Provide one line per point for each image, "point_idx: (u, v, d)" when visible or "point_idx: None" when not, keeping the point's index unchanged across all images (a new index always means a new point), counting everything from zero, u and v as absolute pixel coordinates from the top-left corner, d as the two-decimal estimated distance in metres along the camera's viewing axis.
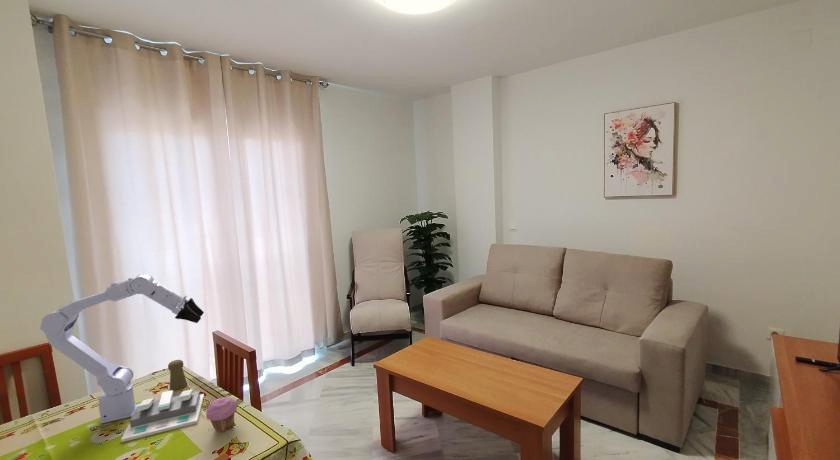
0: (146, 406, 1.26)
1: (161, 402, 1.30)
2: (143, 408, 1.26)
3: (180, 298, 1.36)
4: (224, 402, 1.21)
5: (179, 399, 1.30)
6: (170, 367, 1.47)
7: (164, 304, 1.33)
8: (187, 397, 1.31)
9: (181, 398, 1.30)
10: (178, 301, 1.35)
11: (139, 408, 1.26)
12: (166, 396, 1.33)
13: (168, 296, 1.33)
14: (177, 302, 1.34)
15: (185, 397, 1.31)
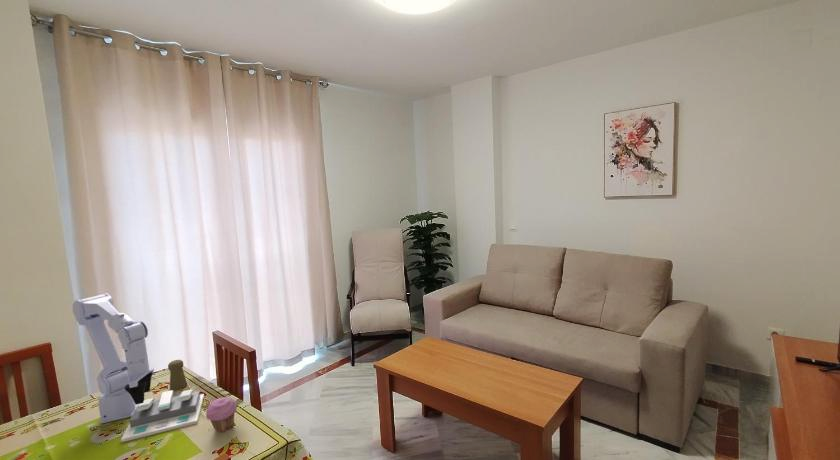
0: (146, 406, 1.26)
1: (161, 402, 1.30)
2: (143, 408, 1.26)
3: (146, 369, 1.25)
4: (224, 402, 1.21)
5: (179, 399, 1.30)
6: (170, 367, 1.47)
7: (129, 366, 1.22)
8: (187, 397, 1.31)
9: (181, 398, 1.30)
10: (142, 372, 1.23)
11: (139, 408, 1.26)
12: (166, 396, 1.33)
13: (140, 361, 1.23)
14: (141, 372, 1.23)
15: (185, 397, 1.31)
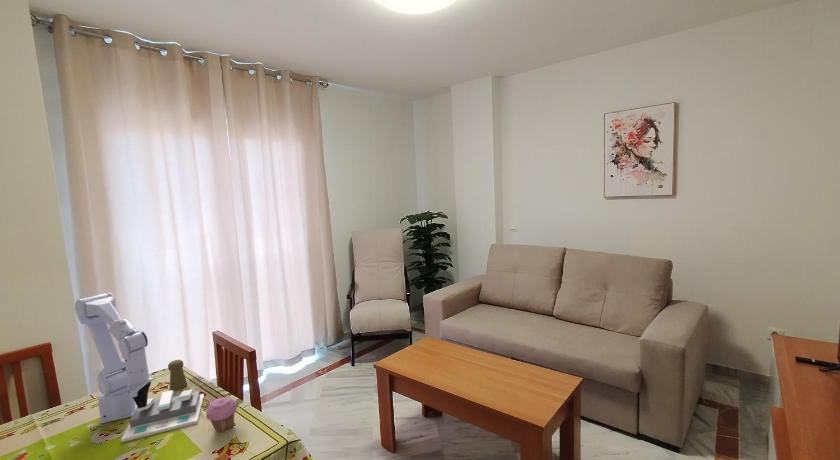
0: (146, 406, 1.26)
1: (161, 402, 1.30)
2: (143, 408, 1.26)
3: (146, 378, 1.25)
4: (224, 402, 1.21)
5: (179, 399, 1.30)
6: (170, 367, 1.47)
7: (129, 375, 1.22)
8: (187, 397, 1.31)
9: (181, 398, 1.30)
10: (142, 381, 1.24)
11: (139, 408, 1.26)
12: (166, 396, 1.33)
13: (140, 371, 1.23)
14: (140, 382, 1.23)
15: (185, 397, 1.31)
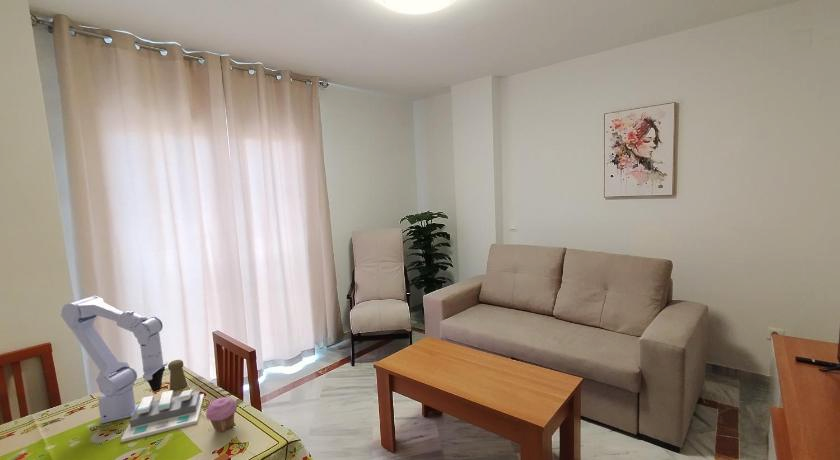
0: (146, 409, 1.26)
1: (161, 402, 1.30)
2: (143, 411, 1.26)
3: (161, 363, 1.30)
4: (224, 402, 1.21)
5: (179, 399, 1.30)
6: (170, 367, 1.47)
7: (144, 359, 1.27)
8: (187, 397, 1.31)
9: (181, 398, 1.30)
10: (157, 365, 1.28)
11: (139, 411, 1.25)
12: (166, 396, 1.33)
13: (154, 356, 1.28)
14: (155, 366, 1.28)
15: (185, 397, 1.31)
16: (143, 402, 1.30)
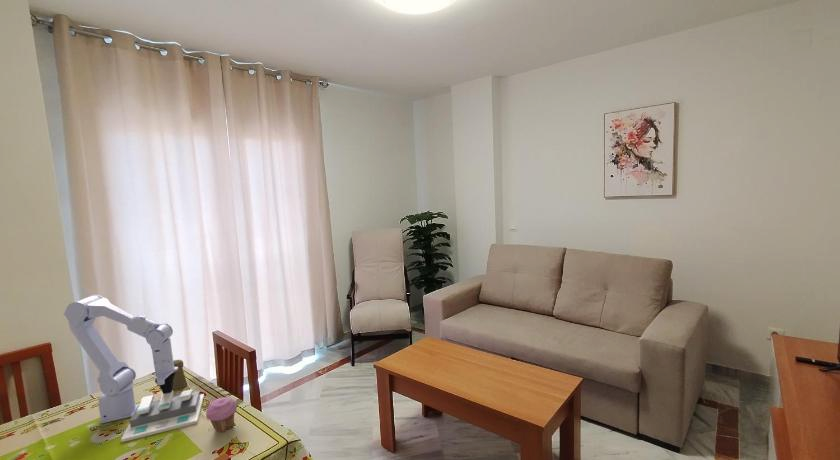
0: (146, 410, 1.26)
1: (161, 402, 1.30)
2: (143, 412, 1.26)
3: (172, 368, 1.34)
4: (224, 402, 1.21)
5: (179, 399, 1.30)
6: None
7: (156, 365, 1.31)
8: (187, 397, 1.31)
9: (181, 398, 1.30)
10: (168, 370, 1.32)
11: (139, 412, 1.25)
12: (166, 396, 1.33)
13: (166, 361, 1.32)
14: (167, 371, 1.32)
15: (185, 397, 1.31)
16: (143, 402, 1.29)
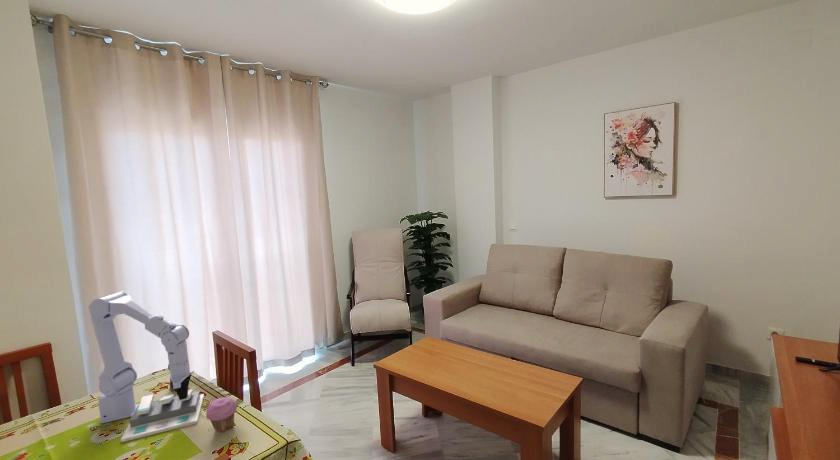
0: (146, 411, 1.26)
1: (161, 399, 1.30)
2: (143, 412, 1.26)
3: (188, 371, 1.30)
4: (224, 402, 1.21)
5: (179, 399, 1.30)
6: None
7: (172, 367, 1.27)
8: (187, 397, 1.31)
9: None
10: (184, 373, 1.28)
11: (139, 413, 1.25)
12: (167, 397, 1.33)
13: (182, 364, 1.28)
14: (183, 374, 1.28)
15: None
16: (143, 402, 1.29)
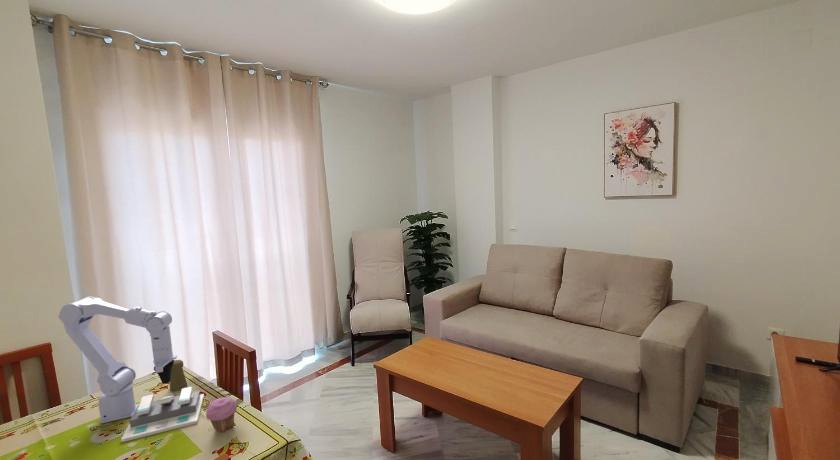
0: (146, 411, 1.26)
1: (161, 399, 1.30)
2: (143, 412, 1.26)
3: (170, 356, 1.33)
4: (224, 402, 1.21)
5: (179, 403, 1.30)
6: None
7: (155, 352, 1.30)
8: (187, 401, 1.31)
9: (181, 402, 1.30)
10: (167, 358, 1.32)
11: (139, 413, 1.25)
12: (167, 397, 1.33)
13: (165, 349, 1.31)
14: (165, 359, 1.31)
15: (185, 401, 1.31)
16: (143, 402, 1.29)
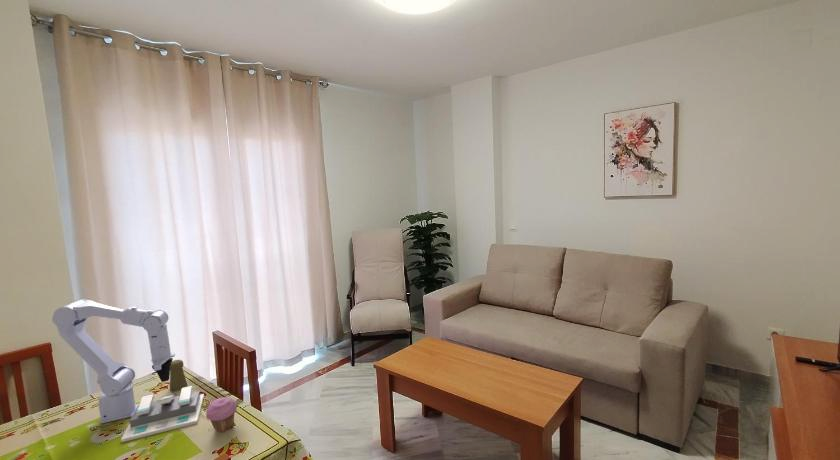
0: (146, 411, 1.26)
1: (161, 399, 1.30)
2: (143, 412, 1.26)
3: (168, 354, 1.34)
4: (224, 402, 1.21)
5: (179, 404, 1.30)
6: (170, 367, 1.47)
7: (153, 351, 1.31)
8: (187, 402, 1.31)
9: (181, 403, 1.30)
10: (165, 356, 1.33)
11: (139, 413, 1.26)
12: (167, 397, 1.33)
13: (163, 347, 1.32)
14: (163, 357, 1.32)
15: (185, 402, 1.31)
16: (143, 402, 1.29)
